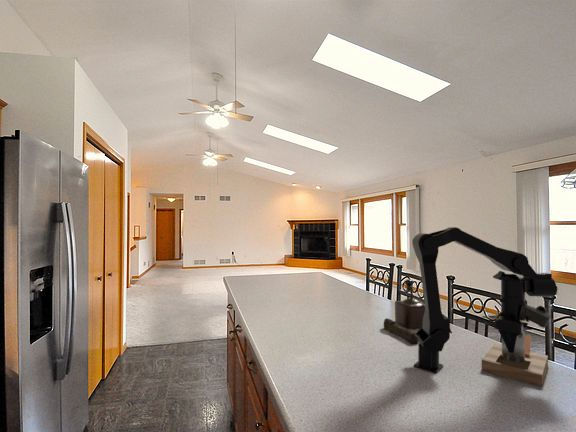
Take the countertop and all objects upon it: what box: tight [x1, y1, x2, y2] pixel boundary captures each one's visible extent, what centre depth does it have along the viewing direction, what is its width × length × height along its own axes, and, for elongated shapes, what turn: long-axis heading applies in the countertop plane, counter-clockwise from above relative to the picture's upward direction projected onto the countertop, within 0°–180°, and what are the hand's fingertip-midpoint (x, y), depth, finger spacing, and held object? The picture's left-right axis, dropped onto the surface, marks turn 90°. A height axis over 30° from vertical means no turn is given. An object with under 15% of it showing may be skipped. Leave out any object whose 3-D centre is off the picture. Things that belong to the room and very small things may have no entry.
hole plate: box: [481, 343, 549, 387], centre depth 97 cm, size 18×14×3 cm
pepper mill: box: [394, 278, 425, 330], centre depth 141 cm, size 16×11×18 cm
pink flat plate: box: [525, 333, 532, 357], centre depth 101 cm, size 7×6×1 cm
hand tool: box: [383, 317, 419, 345], centre depth 125 cm, size 19×4×5 cm, turn 16°
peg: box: [501, 330, 526, 363], centre depth 94 cm, size 6×6×8 cm
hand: (512, 349), depth 94 cm, fingers closed on peg, 5 cm apart
